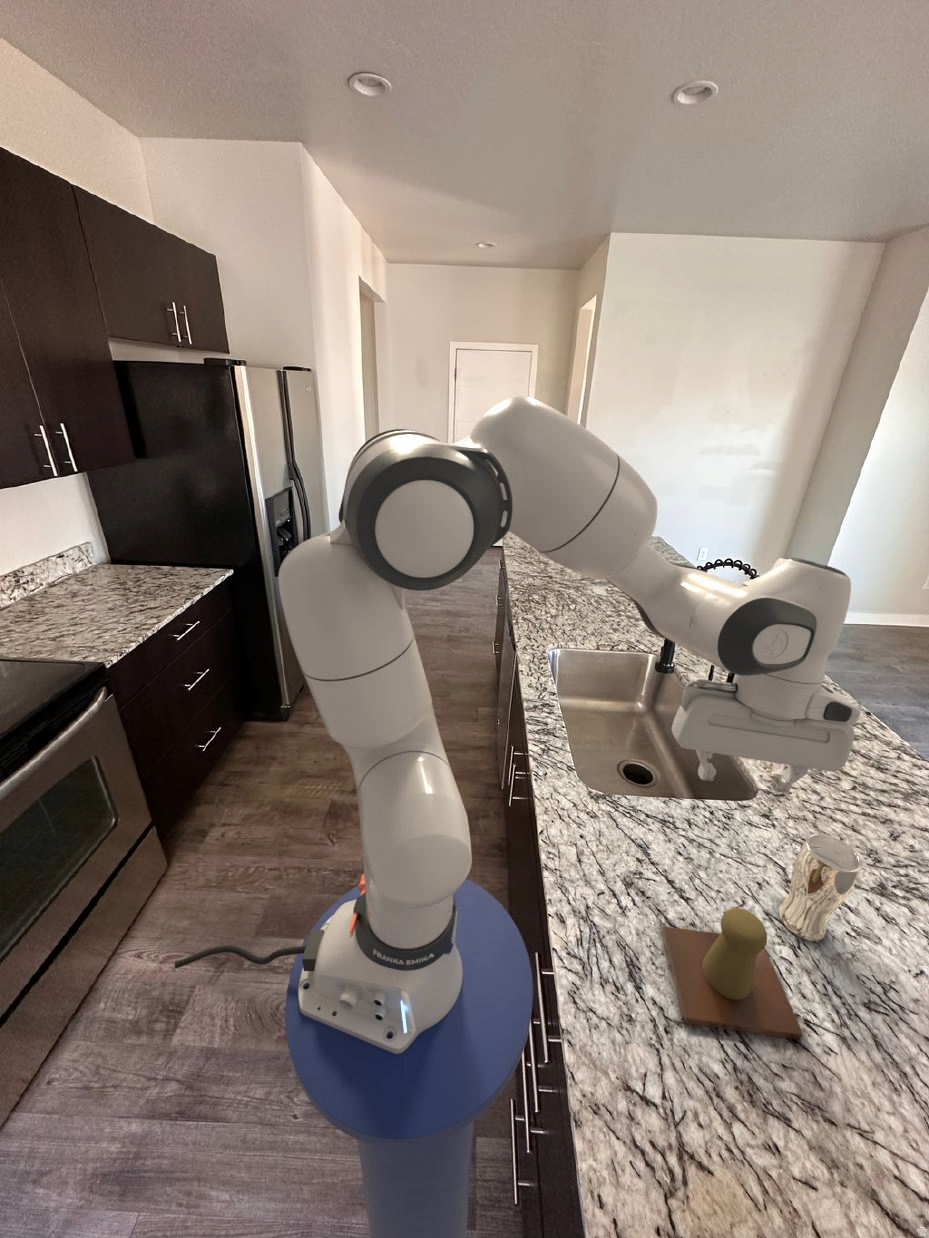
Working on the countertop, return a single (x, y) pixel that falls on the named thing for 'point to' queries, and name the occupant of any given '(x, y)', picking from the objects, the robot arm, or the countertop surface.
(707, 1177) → the countertop surface
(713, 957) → the pepper mill
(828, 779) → the countertop surface
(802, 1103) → the countertop surface
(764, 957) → the cutting board
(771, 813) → the countertop surface
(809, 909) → the beer glass
